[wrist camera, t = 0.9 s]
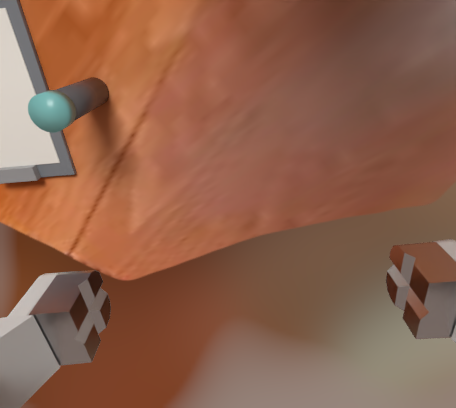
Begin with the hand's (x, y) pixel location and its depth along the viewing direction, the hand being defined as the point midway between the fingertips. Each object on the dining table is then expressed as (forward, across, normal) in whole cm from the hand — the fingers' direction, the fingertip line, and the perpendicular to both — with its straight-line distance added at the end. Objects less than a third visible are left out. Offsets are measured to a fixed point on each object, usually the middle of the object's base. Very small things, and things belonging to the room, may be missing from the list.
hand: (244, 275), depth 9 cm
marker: (+37, +18, -1) cm, 41 cm away
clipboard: (+37, +32, -1) cm, 49 cm away
